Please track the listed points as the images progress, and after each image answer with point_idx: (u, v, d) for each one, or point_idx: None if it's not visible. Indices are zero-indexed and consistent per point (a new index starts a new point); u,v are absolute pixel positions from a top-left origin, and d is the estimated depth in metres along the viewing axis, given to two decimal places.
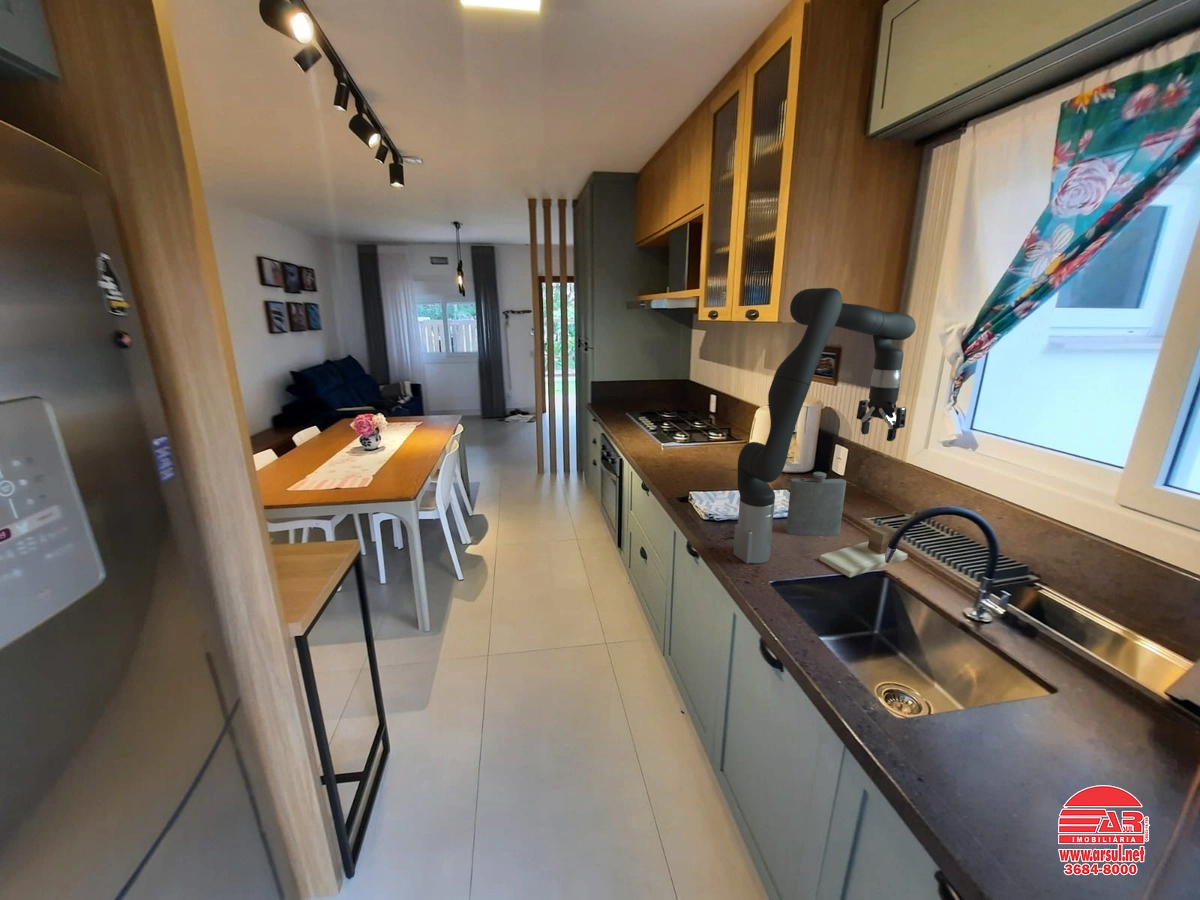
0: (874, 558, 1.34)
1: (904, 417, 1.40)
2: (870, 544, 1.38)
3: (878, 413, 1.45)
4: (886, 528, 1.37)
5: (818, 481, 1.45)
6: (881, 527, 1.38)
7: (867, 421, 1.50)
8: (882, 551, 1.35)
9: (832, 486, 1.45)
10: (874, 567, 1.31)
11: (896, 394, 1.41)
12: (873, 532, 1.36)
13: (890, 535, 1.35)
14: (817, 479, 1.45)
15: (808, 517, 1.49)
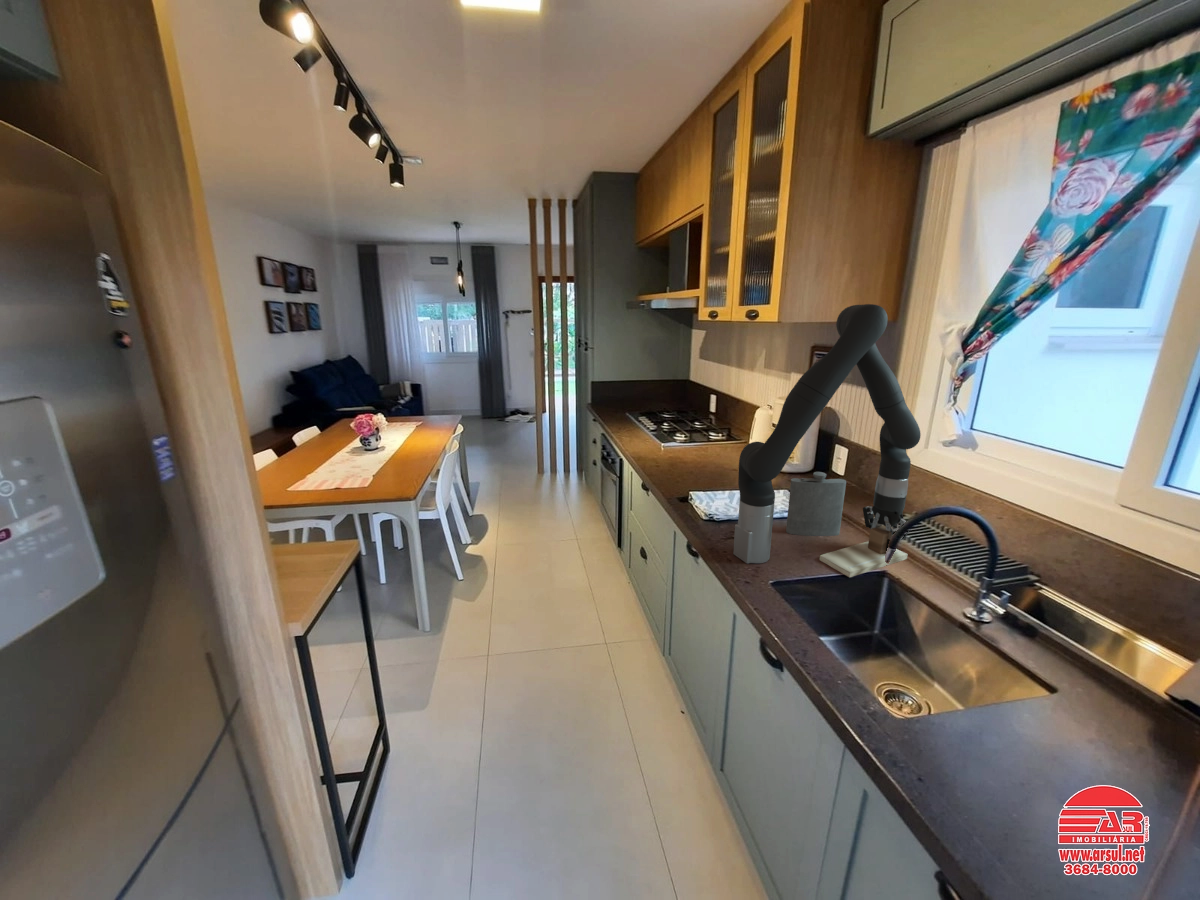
0: (874, 558, 1.34)
1: (907, 532, 1.31)
2: (870, 544, 1.38)
3: (883, 520, 1.35)
4: None
5: (818, 481, 1.45)
6: (881, 527, 1.38)
7: None
8: (882, 551, 1.35)
9: (832, 486, 1.45)
10: (874, 567, 1.31)
11: (903, 503, 1.31)
12: (873, 532, 1.36)
13: None
14: (817, 479, 1.45)
15: (808, 517, 1.49)
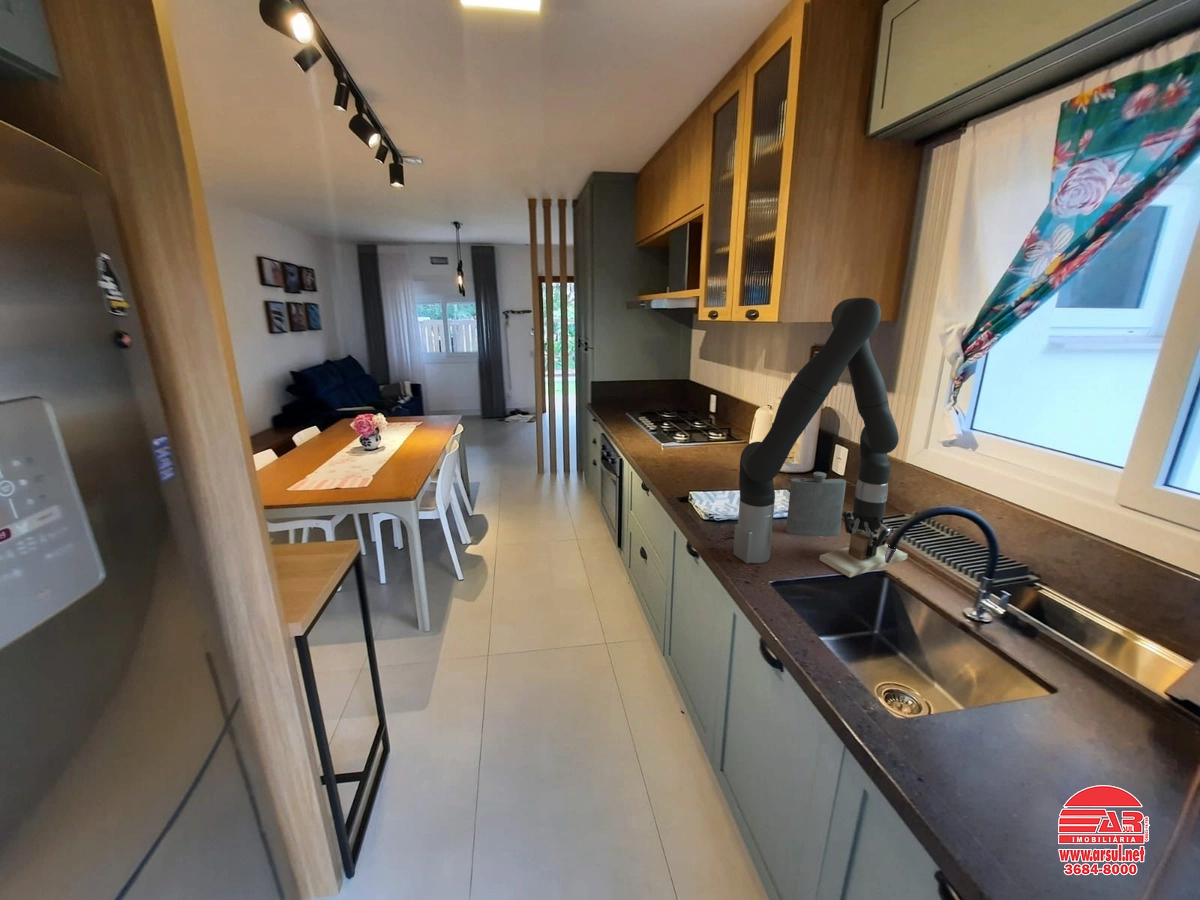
0: (874, 558, 1.34)
1: (887, 538, 1.28)
2: (851, 550, 1.35)
3: (863, 526, 1.32)
4: None
5: (818, 481, 1.45)
6: (862, 532, 1.35)
7: None
8: (862, 557, 1.33)
9: (832, 487, 1.45)
10: (874, 567, 1.31)
11: (883, 508, 1.28)
12: (853, 538, 1.34)
13: None
14: (817, 479, 1.45)
15: (808, 517, 1.49)
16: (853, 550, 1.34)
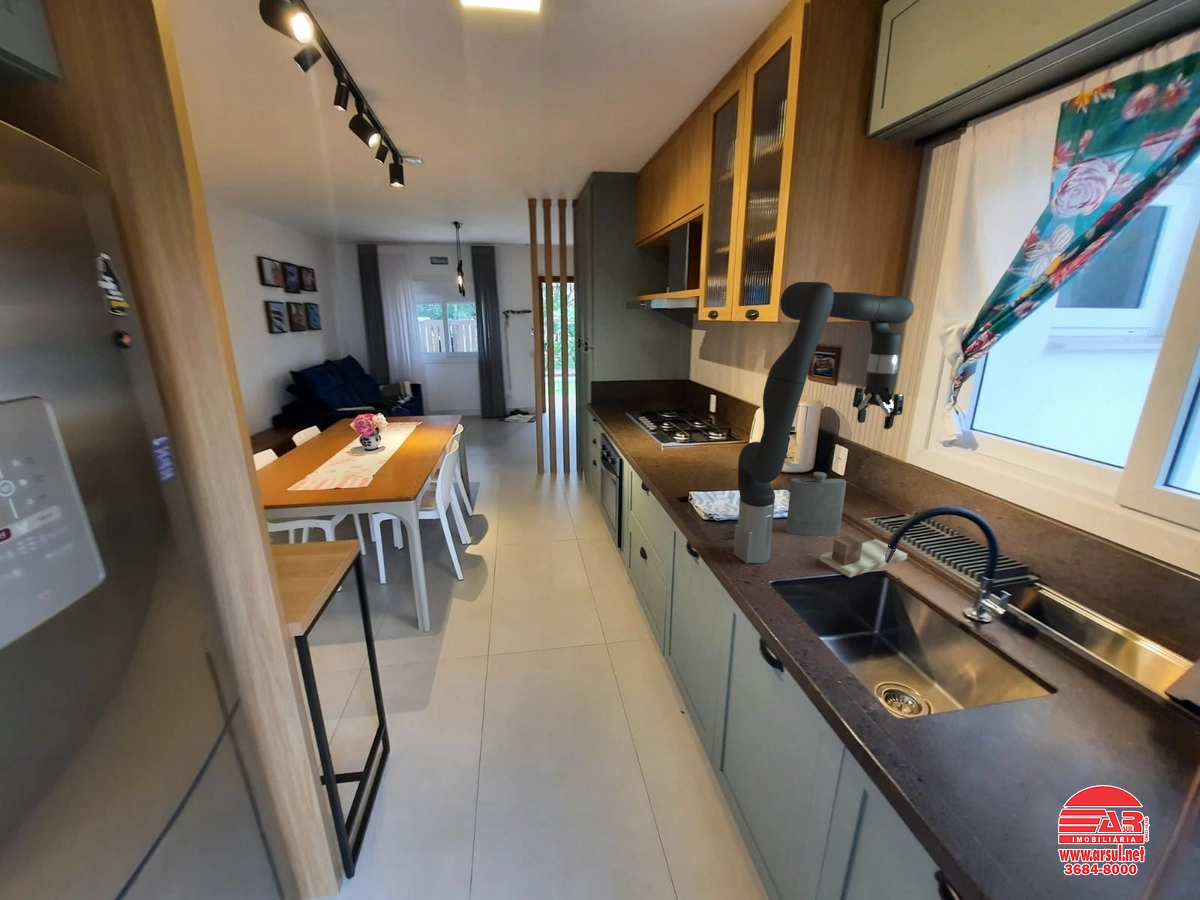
0: (874, 558, 1.34)
1: (902, 404, 1.35)
2: (834, 555, 1.33)
3: (875, 400, 1.40)
4: (850, 539, 1.32)
5: (818, 481, 1.45)
6: (845, 537, 1.33)
7: (863, 409, 1.45)
8: (846, 562, 1.30)
9: (832, 487, 1.45)
10: (874, 567, 1.31)
11: (893, 379, 1.35)
12: (837, 543, 1.31)
13: (854, 546, 1.30)
14: (817, 479, 1.45)
15: (808, 517, 1.49)
16: (836, 555, 1.32)
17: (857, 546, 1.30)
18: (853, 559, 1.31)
